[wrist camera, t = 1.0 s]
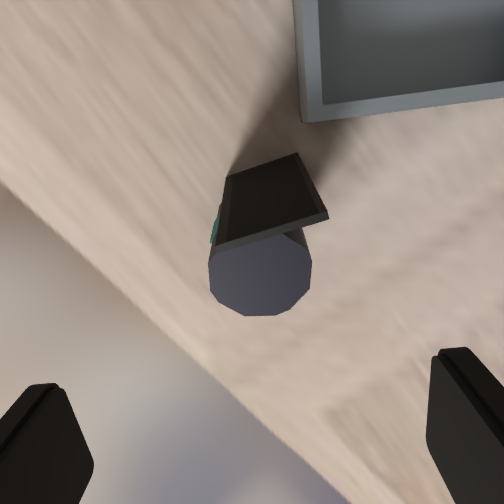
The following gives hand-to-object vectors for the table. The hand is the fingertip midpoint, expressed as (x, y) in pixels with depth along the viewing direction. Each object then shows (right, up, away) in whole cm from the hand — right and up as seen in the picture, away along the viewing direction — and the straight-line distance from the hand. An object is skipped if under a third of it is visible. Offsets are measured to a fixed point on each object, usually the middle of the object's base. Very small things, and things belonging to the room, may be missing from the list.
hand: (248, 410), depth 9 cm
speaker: (+1, +7, +17) cm, 19 cm away
